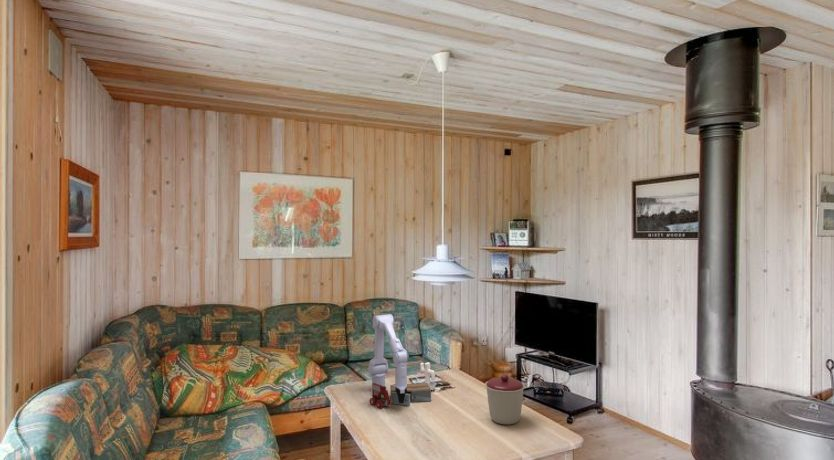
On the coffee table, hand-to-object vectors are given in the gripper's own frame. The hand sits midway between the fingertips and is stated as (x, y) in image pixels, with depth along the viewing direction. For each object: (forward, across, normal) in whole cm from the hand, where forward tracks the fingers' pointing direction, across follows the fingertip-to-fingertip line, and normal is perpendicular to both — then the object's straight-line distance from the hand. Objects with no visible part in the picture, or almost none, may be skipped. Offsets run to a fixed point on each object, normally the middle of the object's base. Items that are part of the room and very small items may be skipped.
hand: (401, 403), depth 230 cm
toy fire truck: (+3, -5, -10) cm, 12 cm away
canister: (+3, +22, +46) cm, 51 cm away
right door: (+2, -4, 0) cm, 5 cm away
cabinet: (+3, -12, +6) cm, 13 cm away
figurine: (+3, -24, +17) cm, 29 cm away
